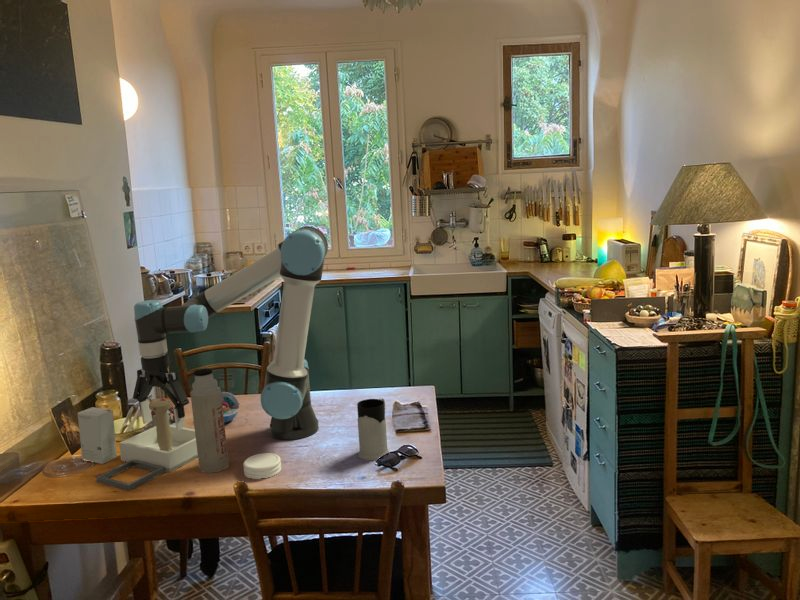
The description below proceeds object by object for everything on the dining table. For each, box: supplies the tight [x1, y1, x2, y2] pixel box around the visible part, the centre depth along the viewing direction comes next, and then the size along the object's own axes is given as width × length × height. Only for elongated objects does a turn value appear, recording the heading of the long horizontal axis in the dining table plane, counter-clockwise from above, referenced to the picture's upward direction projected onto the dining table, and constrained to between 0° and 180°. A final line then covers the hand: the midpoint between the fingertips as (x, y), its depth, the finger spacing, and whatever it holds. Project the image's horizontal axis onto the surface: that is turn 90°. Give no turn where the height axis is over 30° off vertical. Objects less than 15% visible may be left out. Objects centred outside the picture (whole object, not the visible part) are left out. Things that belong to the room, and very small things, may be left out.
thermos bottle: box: [189, 367, 230, 474], centre depth 187 cm, size 8×8×28 cm
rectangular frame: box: [95, 460, 166, 492], centre depth 186 cm, size 13×12×2 cm
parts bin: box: [118, 425, 198, 473], centre depth 199 cm, size 20×16×6 cm
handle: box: [149, 400, 173, 452], centre depth 198 cm, size 5×6×15 cm
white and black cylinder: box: [356, 397, 390, 461], centre depth 194 cm, size 9×14×15 cm, turn 160°
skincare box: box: [77, 406, 118, 465], centre depth 198 cm, size 8×6×15 cm
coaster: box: [243, 452, 282, 480], centre depth 185 cm, size 10×10×4 cm
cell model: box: [221, 391, 241, 424], centre depth 224 cm, size 10×12×10 cm
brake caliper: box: [143, 397, 176, 431], centre depth 217 cm, size 11×11×12 cm
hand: (164, 425), depth 198 cm, fingers open, 13 cm apart
